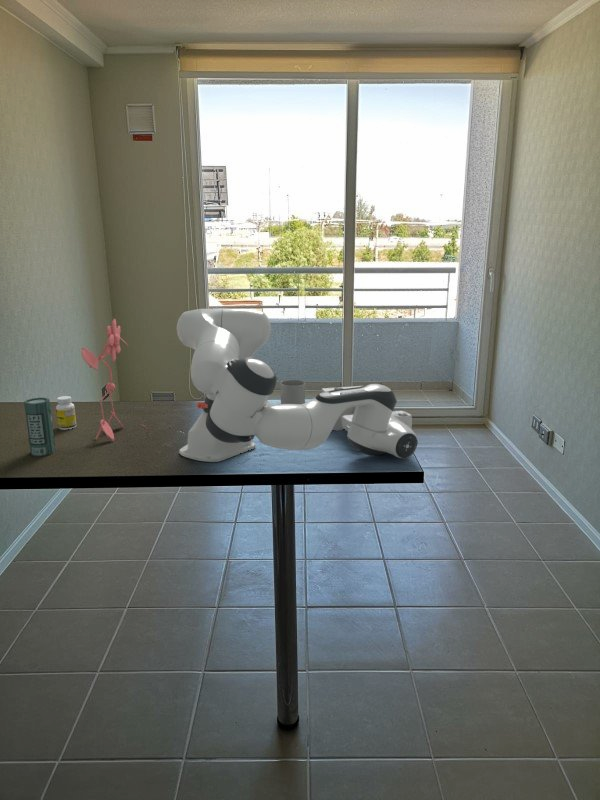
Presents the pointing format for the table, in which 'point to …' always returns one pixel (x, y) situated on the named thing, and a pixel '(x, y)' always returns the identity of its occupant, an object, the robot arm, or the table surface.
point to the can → (39, 426)
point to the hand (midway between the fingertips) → (366, 413)
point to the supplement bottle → (65, 413)
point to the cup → (292, 392)
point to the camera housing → (347, 412)
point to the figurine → (92, 361)
